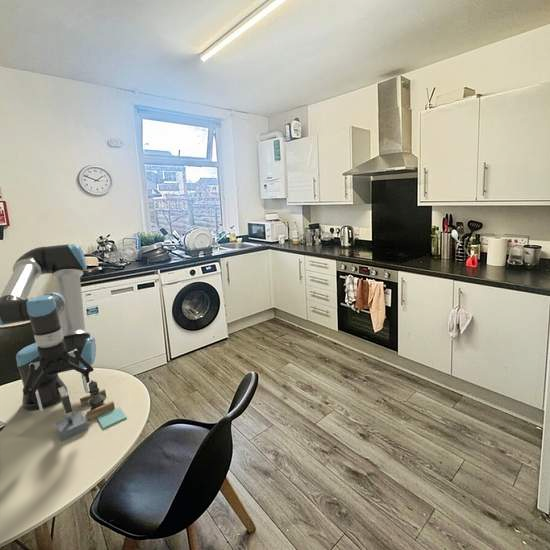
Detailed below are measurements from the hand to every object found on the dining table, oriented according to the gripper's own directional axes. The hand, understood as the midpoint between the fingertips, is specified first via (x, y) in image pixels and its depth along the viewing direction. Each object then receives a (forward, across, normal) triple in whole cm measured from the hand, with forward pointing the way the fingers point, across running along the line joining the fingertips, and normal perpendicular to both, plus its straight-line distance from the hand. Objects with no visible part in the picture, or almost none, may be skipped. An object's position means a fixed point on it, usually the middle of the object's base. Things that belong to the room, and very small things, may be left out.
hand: (64, 400), depth 115 cm
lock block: (+12, 0, 0) cm, 12 cm away
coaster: (+12, +12, -4) cm, 17 cm away
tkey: (+8, 0, 0) cm, 8 cm away
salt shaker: (+12, +10, +8) cm, 18 cm away
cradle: (+12, +10, +8) cm, 17 cm away
